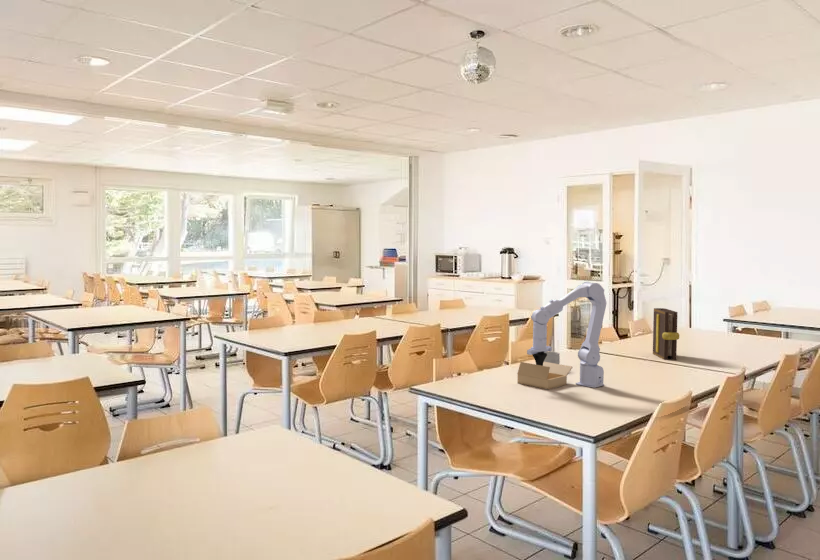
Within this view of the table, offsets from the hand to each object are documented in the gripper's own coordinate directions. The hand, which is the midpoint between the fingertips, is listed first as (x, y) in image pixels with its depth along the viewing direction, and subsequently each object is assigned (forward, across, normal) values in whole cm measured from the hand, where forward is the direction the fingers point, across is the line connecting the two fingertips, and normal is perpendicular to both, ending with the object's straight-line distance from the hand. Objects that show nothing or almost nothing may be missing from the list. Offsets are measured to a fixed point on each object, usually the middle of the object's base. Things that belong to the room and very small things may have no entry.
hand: (539, 369), depth 268 cm
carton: (+7, -5, -2) cm, 9 cm away
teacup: (+7, -35, -20) cm, 41 cm away
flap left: (+1, +1, -2) cm, 2 cm away
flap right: (+1, -14, -2) cm, 14 cm away
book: (+7, -107, +2) cm, 107 cm away
